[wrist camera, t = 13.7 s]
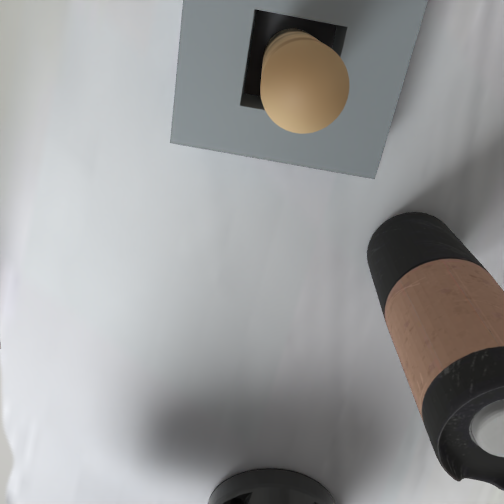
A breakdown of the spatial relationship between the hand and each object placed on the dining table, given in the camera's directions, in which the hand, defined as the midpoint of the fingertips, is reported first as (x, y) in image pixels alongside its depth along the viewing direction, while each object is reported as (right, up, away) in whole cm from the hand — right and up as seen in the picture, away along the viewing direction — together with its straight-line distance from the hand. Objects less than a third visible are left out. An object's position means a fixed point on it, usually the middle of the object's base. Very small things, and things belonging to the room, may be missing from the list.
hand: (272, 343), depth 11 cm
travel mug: (+13, +2, +29) cm, 32 cm away
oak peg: (+2, +16, +23) cm, 28 cm away
